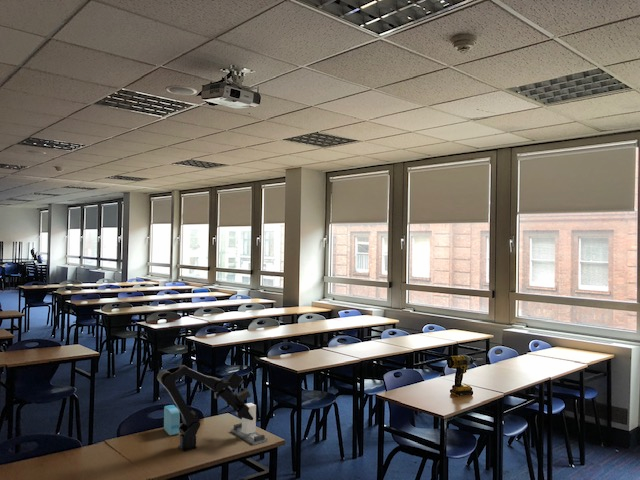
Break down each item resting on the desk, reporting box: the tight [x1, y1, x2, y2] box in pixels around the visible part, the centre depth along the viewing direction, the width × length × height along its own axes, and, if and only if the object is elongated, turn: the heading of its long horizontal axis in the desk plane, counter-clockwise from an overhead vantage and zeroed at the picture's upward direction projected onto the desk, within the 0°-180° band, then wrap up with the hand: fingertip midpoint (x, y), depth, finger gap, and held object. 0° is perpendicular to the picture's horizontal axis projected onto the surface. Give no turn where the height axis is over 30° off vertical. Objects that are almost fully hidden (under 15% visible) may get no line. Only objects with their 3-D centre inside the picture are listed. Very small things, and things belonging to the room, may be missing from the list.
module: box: [241, 402, 257, 434], centre depth 243 cm, size 5×5×13 cm
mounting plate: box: [230, 422, 269, 446], centre depth 243 cm, size 8×22×3 cm, turn 39°
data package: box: [163, 404, 181, 436], centre depth 248 cm, size 12×4×12 cm, turn 32°
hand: (251, 417), depth 243 cm, fingers closed on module, 6 cm apart
